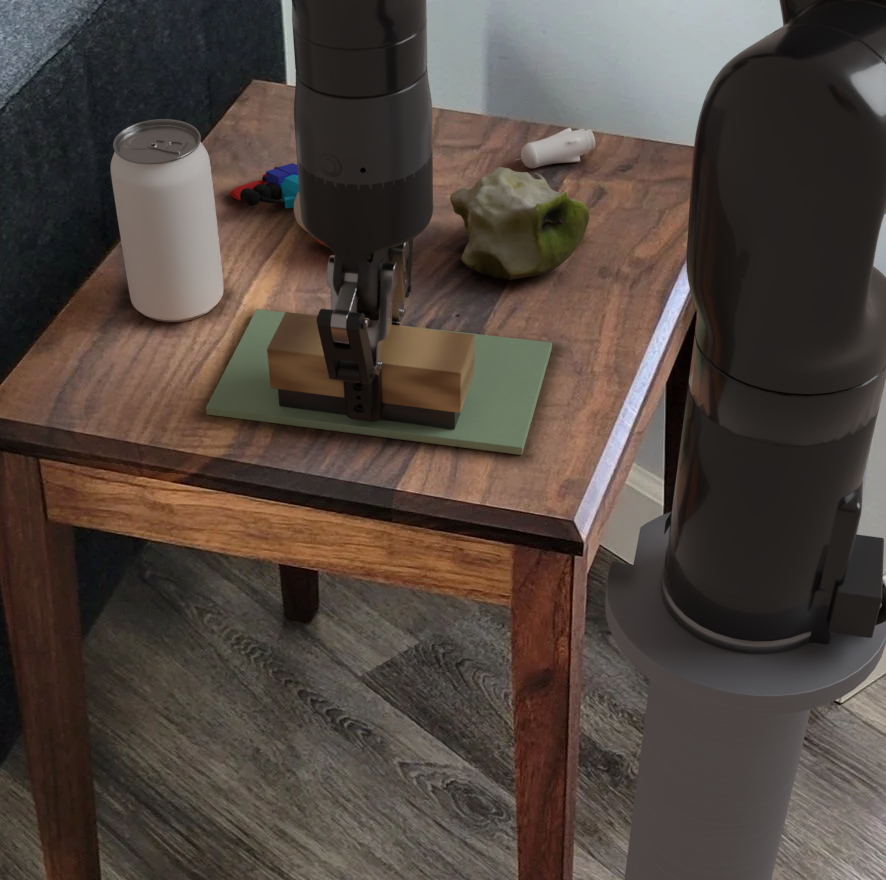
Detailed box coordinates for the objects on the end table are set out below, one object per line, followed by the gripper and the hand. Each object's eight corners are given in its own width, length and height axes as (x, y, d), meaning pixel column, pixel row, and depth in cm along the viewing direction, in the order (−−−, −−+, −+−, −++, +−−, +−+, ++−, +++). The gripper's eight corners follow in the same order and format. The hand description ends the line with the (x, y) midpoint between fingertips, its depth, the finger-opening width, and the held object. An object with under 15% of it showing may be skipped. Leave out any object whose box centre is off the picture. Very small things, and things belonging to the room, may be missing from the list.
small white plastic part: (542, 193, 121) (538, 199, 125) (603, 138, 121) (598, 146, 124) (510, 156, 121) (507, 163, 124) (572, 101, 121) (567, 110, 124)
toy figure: (223, 218, 122) (330, 276, 111) (215, 154, 120) (325, 207, 109) (308, 194, 126) (421, 248, 115) (303, 131, 123) (418, 180, 112)
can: (154, 266, 115) (131, 110, 107) (238, 279, 114) (222, 122, 105) (115, 317, 111) (89, 158, 103) (203, 331, 109) (183, 171, 101)
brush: (474, 393, 102) (475, 334, 99) (460, 433, 99) (461, 373, 96) (290, 370, 105) (285, 311, 102) (271, 407, 102) (266, 348, 99)
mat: (551, 349, 106) (552, 341, 105) (522, 455, 98) (522, 447, 98) (256, 316, 110) (256, 308, 110) (206, 414, 103) (205, 406, 102)
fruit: (594, 303, 112) (593, 215, 105) (458, 315, 113) (448, 229, 106) (584, 210, 117) (582, 121, 111) (454, 223, 118) (444, 135, 112)
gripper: (399, 219, 84) (405, 474, 96) (458, 90, 94) (457, 336, 106) (260, 204, 86) (283, 457, 97) (332, 79, 96) (345, 322, 107)
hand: (373, 393), depth 101 cm, fingers closed on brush, 4 cm apart
